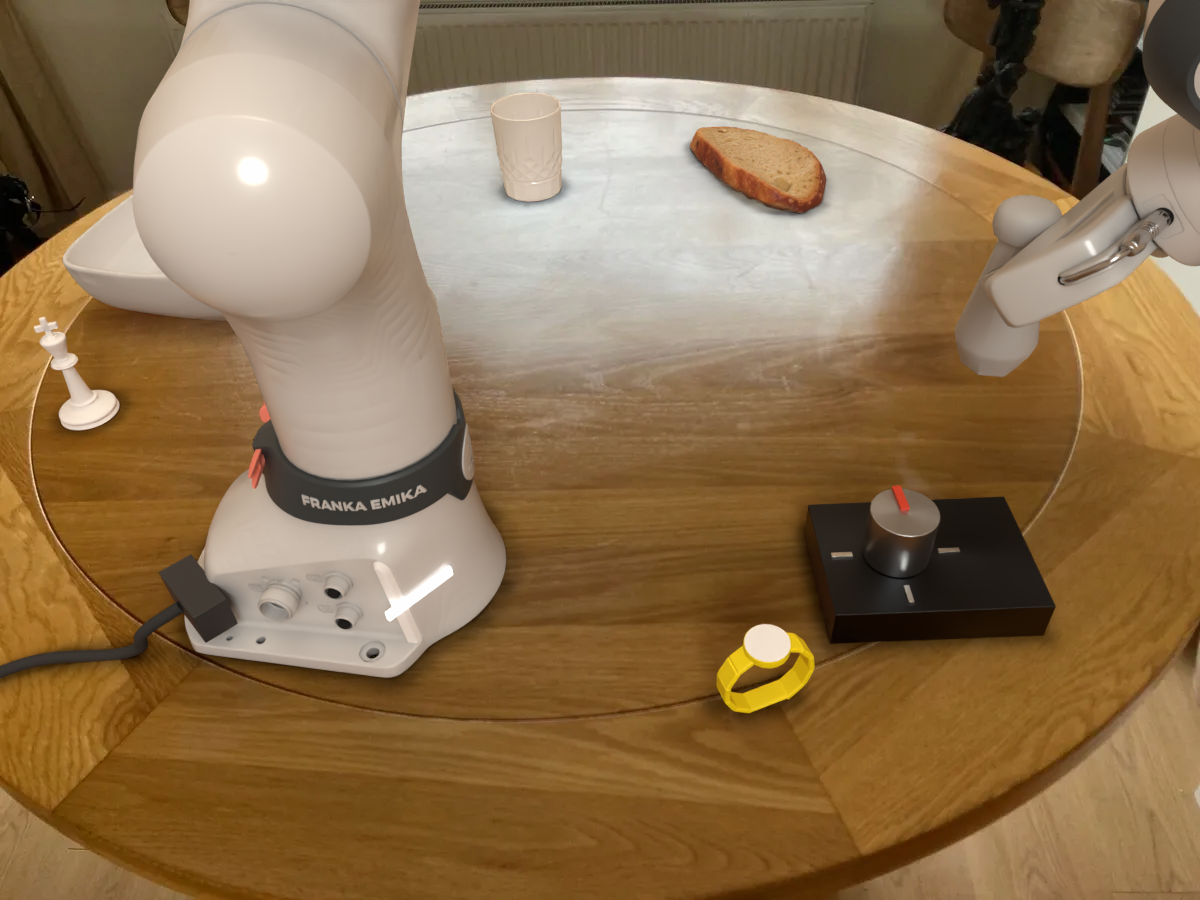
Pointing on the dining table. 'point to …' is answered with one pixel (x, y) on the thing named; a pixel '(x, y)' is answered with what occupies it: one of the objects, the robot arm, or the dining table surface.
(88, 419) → the chess piece
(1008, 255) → the salt shaker
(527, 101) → the white cup
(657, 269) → the dining table surface
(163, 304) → the bowl
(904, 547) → the knob
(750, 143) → the bread slice
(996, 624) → the black dial panel
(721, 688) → the watch
